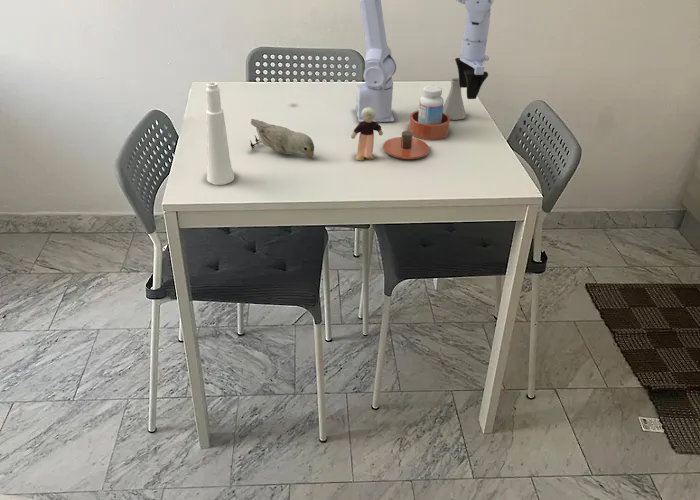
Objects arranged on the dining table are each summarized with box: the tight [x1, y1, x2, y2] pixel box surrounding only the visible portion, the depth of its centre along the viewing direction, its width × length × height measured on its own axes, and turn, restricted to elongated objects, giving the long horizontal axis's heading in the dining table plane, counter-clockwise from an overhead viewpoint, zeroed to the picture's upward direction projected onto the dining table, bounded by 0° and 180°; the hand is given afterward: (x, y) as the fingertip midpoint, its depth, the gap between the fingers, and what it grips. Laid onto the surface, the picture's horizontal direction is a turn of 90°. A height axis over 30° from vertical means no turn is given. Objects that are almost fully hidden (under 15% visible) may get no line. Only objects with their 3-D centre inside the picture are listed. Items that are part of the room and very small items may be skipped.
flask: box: [443, 77, 467, 121], centre depth 179 cm, size 7×7×10 cm
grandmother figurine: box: [350, 107, 384, 161], centre depth 156 cm, size 8×4×13 cm, turn 117°
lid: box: [382, 130, 430, 160], centre depth 162 cm, size 11×11×5 cm
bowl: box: [408, 109, 451, 141], centre depth 172 cm, size 10×10×4 cm
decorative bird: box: [249, 118, 315, 159], centre depth 158 cm, size 5×16×8 cm, turn 72°
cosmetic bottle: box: [205, 81, 235, 186], centre depth 142 cm, size 6×6×22 cm
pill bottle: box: [418, 84, 445, 125], centre depth 169 cm, size 6×6×11 cm
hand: (467, 92), depth 168 cm, fingers open, 7 cm apart
